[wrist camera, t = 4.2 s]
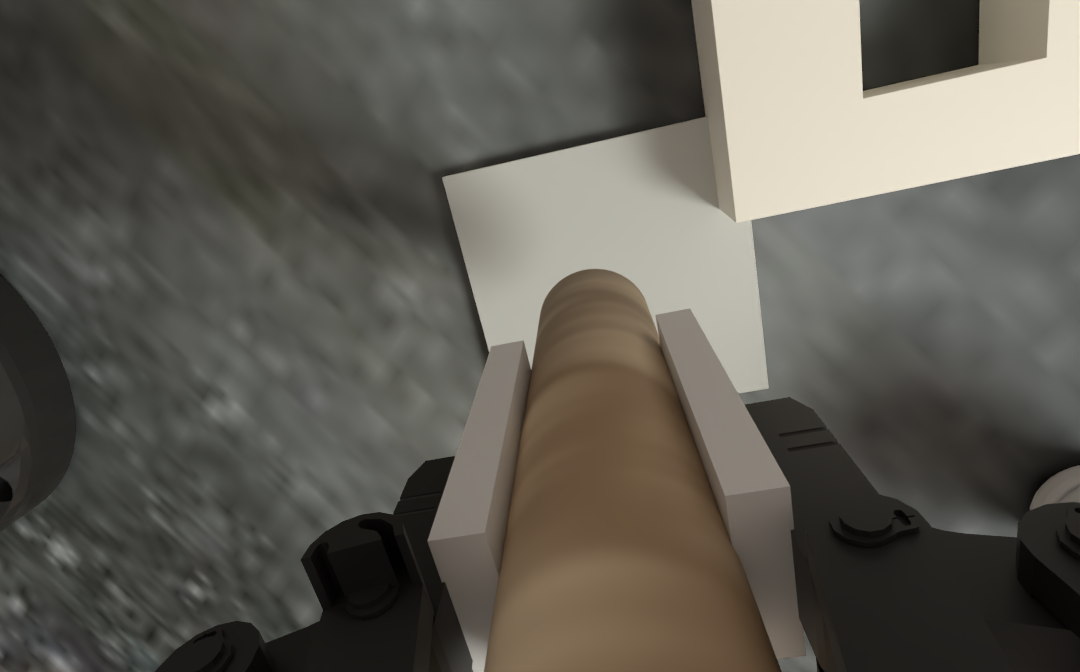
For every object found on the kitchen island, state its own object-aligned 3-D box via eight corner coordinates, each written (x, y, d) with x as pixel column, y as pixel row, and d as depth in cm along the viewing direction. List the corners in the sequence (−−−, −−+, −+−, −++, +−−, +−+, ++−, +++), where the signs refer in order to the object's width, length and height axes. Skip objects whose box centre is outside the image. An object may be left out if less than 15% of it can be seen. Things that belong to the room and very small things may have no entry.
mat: (511, 425, 25) (510, 430, 24) (444, 176, 21) (442, 177, 21) (765, 383, 23) (768, 388, 23) (736, 109, 20) (739, 109, 19)
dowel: (552, 380, 18) (501, 1050, 5) (528, 281, 17) (394, 817, 4) (657, 361, 18) (875, 1034, 5) (639, 258, 17) (860, 775, 4)
